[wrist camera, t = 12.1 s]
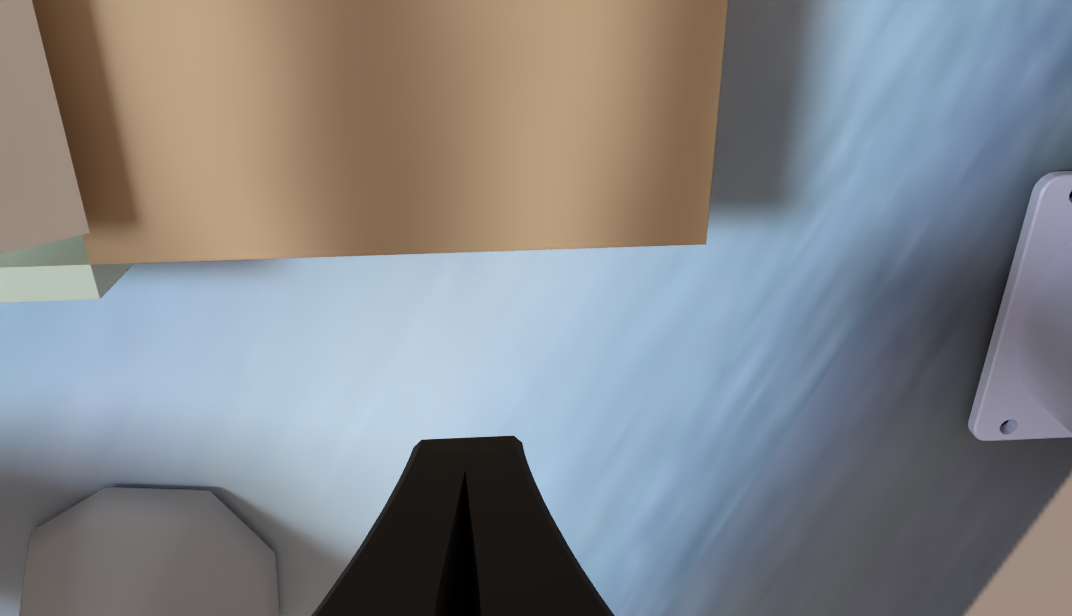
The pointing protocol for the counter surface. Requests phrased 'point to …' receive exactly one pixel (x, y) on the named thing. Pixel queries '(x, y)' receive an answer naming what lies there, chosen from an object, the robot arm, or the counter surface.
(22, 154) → the tile
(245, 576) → the flask
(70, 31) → the board
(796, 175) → the counter surface
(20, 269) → the box
